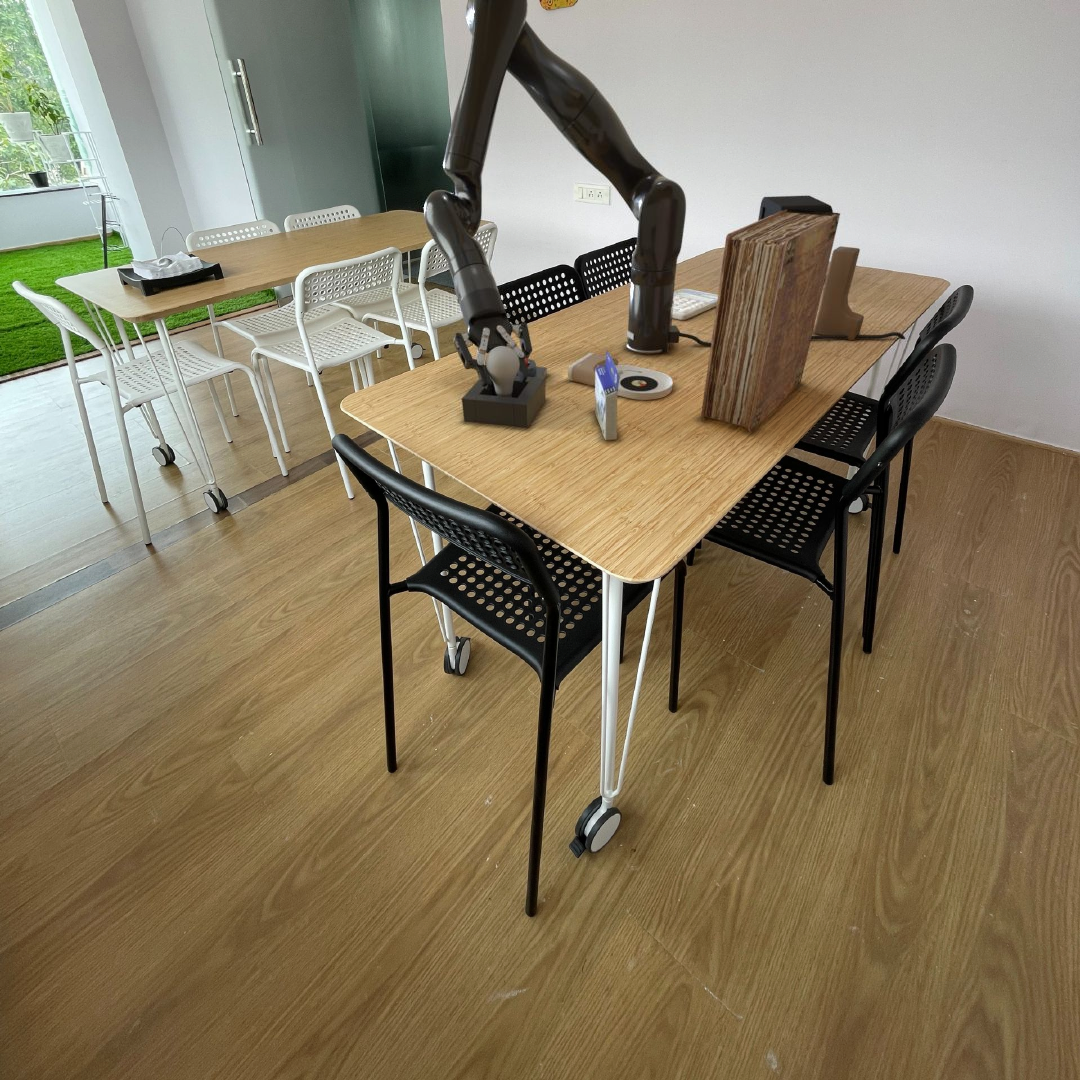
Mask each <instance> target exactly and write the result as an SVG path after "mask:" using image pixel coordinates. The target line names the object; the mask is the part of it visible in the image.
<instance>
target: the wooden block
mask: <svg viewBox="0 0 1080 1080" xmlns="http://www.w3.org/2000/svg"><path fill="white" fill-rule="evenodd" d="M860 252H861V249H860V248H858V247H850V246H838V247H836V248H835V249H833V250H832V252H831V256H830V261H829V265H828V269H827V273H826V277H825V282H824V286H823V290H822V294H821V299H820V303H819V307H818V311H817V316H816V320H815V324H814V328H813V333H814V334H815V335H847V336H848V338H844V339H843V340H849V341H854V340H855V337H856V335H860V333H861V330H862V327H863V322H864V319H865V316H864V315H863V314H861V313H857V312H854V311H853V310H852V309H851V307H850V305H849V294H850V290H851V286H852V282H853V278H854V274H855V270H856V267H857V263H858V259H859V255H860Z"/></svg>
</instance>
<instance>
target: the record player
mask: <svg viewBox="0 0 1080 1080" xmlns="http://www.w3.org/2000/svg"><path fill="white" fill-rule="evenodd" d="M611 358H612V360H613V362H614V365H615V367H616V369H617V371H618V373H619V375H620V379H619V386H618V392H617V396H619V397H622V398H627V399H631V400H632V399H633V400H638V401H646V400H647V401H650V400H657V399H661V398H664V397H666V396H668V395H669V394H671V392H672V391H673V383H674V382H673V379H672V378H671V376H670V375H668V374H666V373H664V372H662V371H658V370H655V369H654V370H653V369H650V368H649V369H648V368H645V367H641V366H635V365H631V364H619V360H618V359H617V358H616V357H612V356H611ZM603 365H606V355H602V354H598V353H594V352H589V353H588V354H586V355H584V356H582V357H581V358H580V359H578V360H576V361H575V362H573V363H571V364H570V365H569V366H568V370H567V379H568V380H569V381H571V382H576V383H580V384H583V385H587V386H591V387H595V369H596V368H598V367H601V366H603ZM611 371H612V373H613V375H614V372H613V368H611Z"/></svg>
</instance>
